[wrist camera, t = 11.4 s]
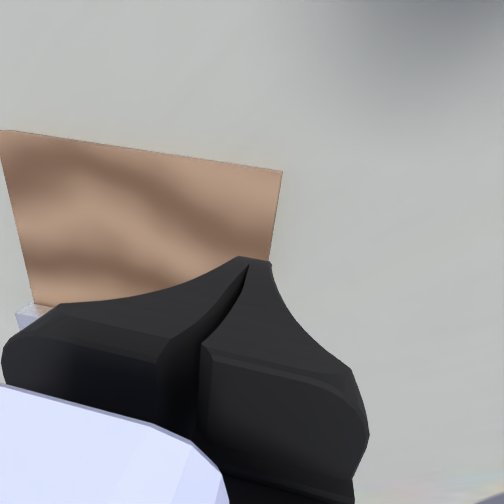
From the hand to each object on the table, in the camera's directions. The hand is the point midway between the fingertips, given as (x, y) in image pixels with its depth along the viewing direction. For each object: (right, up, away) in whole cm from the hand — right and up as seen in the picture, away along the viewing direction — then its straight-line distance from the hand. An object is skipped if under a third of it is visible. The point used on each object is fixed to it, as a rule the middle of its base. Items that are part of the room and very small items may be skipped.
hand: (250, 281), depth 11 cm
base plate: (-9, -1, +13) cm, 15 cm away
